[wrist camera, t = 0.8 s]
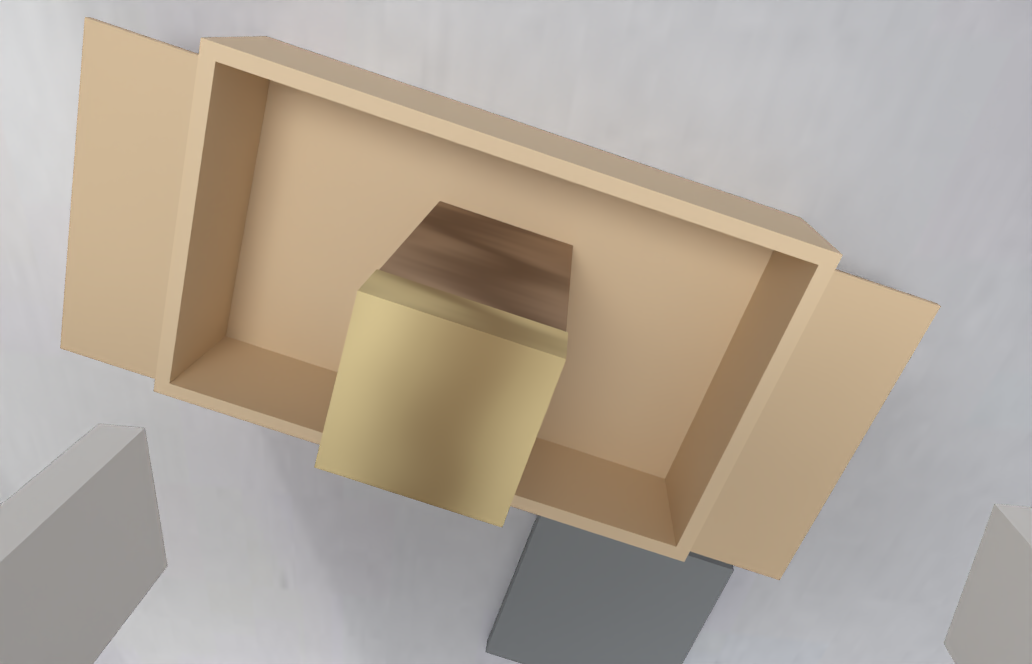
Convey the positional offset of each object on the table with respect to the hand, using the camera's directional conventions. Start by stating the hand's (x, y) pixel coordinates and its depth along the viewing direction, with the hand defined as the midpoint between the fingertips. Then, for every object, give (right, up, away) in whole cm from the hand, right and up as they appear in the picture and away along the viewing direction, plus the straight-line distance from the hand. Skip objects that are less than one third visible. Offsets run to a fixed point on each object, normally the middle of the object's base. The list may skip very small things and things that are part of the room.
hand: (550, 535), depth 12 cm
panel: (+4, -11, +28) cm, 30 cm away
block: (-2, +5, +21) cm, 22 cm away
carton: (-2, +5, +21) cm, 22 cm away
